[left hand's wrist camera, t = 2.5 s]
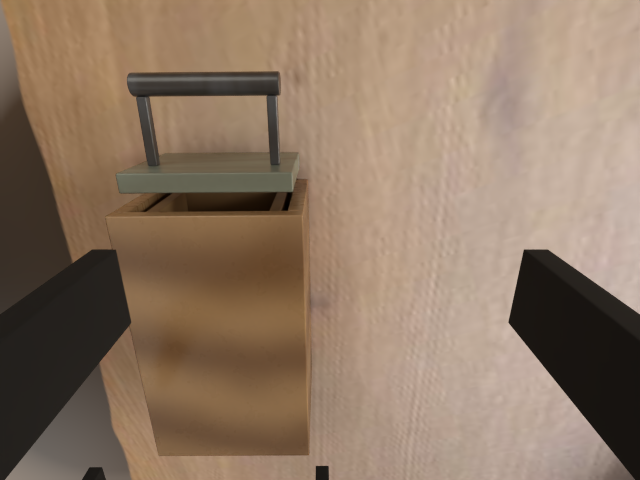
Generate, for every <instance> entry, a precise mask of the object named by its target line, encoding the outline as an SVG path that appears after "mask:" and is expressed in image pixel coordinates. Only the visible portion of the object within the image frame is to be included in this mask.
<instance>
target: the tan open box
mask: <svg viewBox="0 0 640 480" xmlns="http://www.w3.org/2000/svg"><path fill="white" fill-rule="evenodd" d="M171 194H172V193H144V194H143V195H141V196H139V197H138V198H136V199H134V200H133V201H131V202H129V203H128V204H126V205H124V206H122V207H121V208H119V209H117V210H116V211H114V212H113V213H111V214H109V215H107V216H106V217H105V220H106V224H107V228H108V233H109V237H110V242H111V246H112V250H116V252H117V257H118V261H119V266H120V271H121V275H122V280H123V285H124V290H125V294H126V299H127V304H128V308H129V313H130V318H131V322H132V323H131V324H130V325H129V326H130V331H131V335H132V339H133V344H134V348H135V353H136V357H137V362H138V366H139V371H140V375H141V379H142V384H143V388H144V393H145V397H146V402H147V406H148V411H149V415H150V419H151V424H152V428H153V433H154V437H155V442H156V446H157V450H158V455H159V456H244V455H309V443H310V411H311V379H312V357H311V307H310V256H309V206H308V180H307V179H296V182H295V186H294V189H293V192H289V209H288V211H208V212H147V211H148V210H150V209H151V208H152V207H154V206H155V205H157V204H158V203H159V202H161V201H162V200H164V199H165V198H167V197H168V196H169V195H171Z"/></svg>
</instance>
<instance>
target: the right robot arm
mask: <svg viewBox="0 0 640 480" xmlns="http://www.w3.org/2000/svg"><path fill="white" fill-rule="evenodd" d="M82 480H106V479H105V475H104V472H103V469H102V467H90V468H89V469H88V471H87V472H86V474H85V476H84V477H83V479H82ZM316 480H329V469H328V466H316Z"/></svg>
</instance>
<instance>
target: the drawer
mask: <svg viewBox="0 0 640 480" xmlns="http://www.w3.org/2000/svg"><path fill="white" fill-rule="evenodd" d="M127 84H128V88H129V91H130V93H131V94H132V95H133V96H135V97H136V100H137V105H138V111H139V117H140V123H141V129H142V134H143V140H144V146H145V152H146V157H147V161H146V162H143V163H141V164H138V165H136V166H134V167H131V168H129V169H126V170H124V171H122V172H119V173H117V174H116V179H117V183H118V188H119V193H172V194H171V195H169V196H168V197H167V198H165V199H164V200H162V201H161V202H159V203H158V204H157V205H155V206H154V207H152V208H151V209H150V210H148V211H147V212H208V211H288V209H289V192H293V189H294V186H295V182H296V178H297V174H298V171H299V167H300V166H299V153H298V152H290V153H280V142H279V120H278V98H277V96H276V95H280V94H281V79H280V73H279V72H278V71H272V72H158V73H129V74H128V77H127ZM266 95H268V96H267V113H268V131H269V149H270V153H165V154H163V155H160V156H159V154H158V148H157V142H156V136H155V129H154V123H153V117H152V111H151V105H150V98H149V97H150V96H266Z"/></svg>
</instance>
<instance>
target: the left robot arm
mask: <svg viewBox="0 0 640 480" xmlns="http://www.w3.org/2000/svg"><path fill="white" fill-rule="evenodd" d="M131 323H132V322H131V318H130V313H129V308H128V304H127V299H126V294H125V290H124V285H123V280H122V275H121V271H120V266H119V261H118V257H117V252H116V250H91V251H90V252H88V253H87V254H85V255H84V256H82V257H81V258H80V259H78V260H77V261H75V262H74V263H73V264H71V265H70V266H68V267H67V268H66V269H64V270H63V271H61V272H60V273H58V274H57V275H56V276H54V277H53V278H51V279H50V280H48V281H47V282H46V283H44V284H43V285H41V286H40V287H39V288H37V289H36V290H34V291H33V292H31V293H30V294H29V295H27V296H26V297H24V298H23V299H22V300H20V301H19V302H17V303H16V304H15V305H13V306H12V307H10V308H9V309H7V310H6V311H5V312H3V313H2V314H0V480H5V479H6V478H7V476H8V475H9V474H10V473H11V471H12V470H13V469H14V468H15V466H16V465H17V464H18V463H19V461H20V460H21V459H22V458H23V456H24V455H25V454H26V453H27V452H28V450H29V449H30V448H31V447H32V445H33V444H34V443H35V442H36V440H37V439H38V438H39V437H40V435H41V434H42V433H43V432H44V430H45V429H46V428H47V427H48V425H49V424H50V423H51V422H52V421H53V419H54V418H55V417H56V416H57V414H58V413H59V412H60V411H61V409H62V408H63V407H64V406H65V404H66V403H67V402H68V401H69V399H70V398H71V397H72V396H73V394H74V393H75V392H76V391H77V389H78V388H79V387H80V386H81V385H82V383H83V382H84V381H85V380H86V378H87V377H88V376H89V375H90V373H91V372H92V371H93V370H94V368H95V367H96V366H97V365H98V363H99V362H100V361H101V360H102V359H103V357H104V356H105V355H106V354H107V352H108V351H109V350H110V349H111V347H112V346H113V345H114V344H115V342H116V341H117V340H118V339H119V337H120V336H121V335H122V334H123V332H124V331H125V330H126V329H127V328H128V326H129V325H130V324H131ZM508 323H509V324H510V325H511V326H512V328H513V329H514V330H515V331H516V332H517V334H518V335H519V336H520V337H521V339H522V340H523V341H524V342H525V344H526V345H527V346H528V347H529V349H530V350H531V351H532V352H533V354H534V355H535V356H536V357H537V359H538V360H539V361H540V362H541V363H542V365H543V366H544V367H545V368H546V370H547V371H548V372H549V373H550V375H551V376H552V377H553V378H554V380H555V381H556V382H557V383H558V385H559V386H560V387H561V388H562V390H563V391H564V392H565V393H566V394H567V396H568V397H569V398H570V399H571V401H572V402H573V403H574V404H575V406H576V407H577V408H578V409H579V411H580V412H581V413H582V414H583V416H584V417H585V418H586V419H587V421H588V422H589V423H590V424H591V425H592V427H593V428H594V429H595V430H596V432H597V433H598V434H599V435H600V437H601V438H602V439H603V440H604V442H605V443H606V444H607V445H608V447H609V448H610V449H611V450H612V452H613V453H614V454H615V455H616V456H617V458H618V459H619V460H620V461H621V463H622V464H623V465H624V466H625V468H626V469H627V470H628V471H629V473H630V474H631V475H632V476H633V478H634V479H635V480H640V314H638V313H637V312H635V311H634V310H633V309H631V308H630V307H628V306H627V305H626V304H624V303H623V302H621V301H620V300H618V299H617V298H616V297H614V296H613V295H611V294H610V293H609V292H607V291H606V290H604V289H603V288H601V287H600V286H599V285H597V284H596V283H594V282H593V281H592V280H590V279H589V278H587V277H586V276H584V275H583V274H582V273H580V272H579V271H577V270H576V269H575V268H573V267H572V266H570V265H569V264H567V263H566V262H565V261H563V260H562V259H560V258H559V257H558V256H556V255H555V254H553V253H552V252H550V251H549V250H524V252H523V257H522V261H521V266H520V271H519V275H518V280H517V285H516V290H515V294H514V299H513V304H512V308H511V313H510V318H509V322H508Z"/></svg>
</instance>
